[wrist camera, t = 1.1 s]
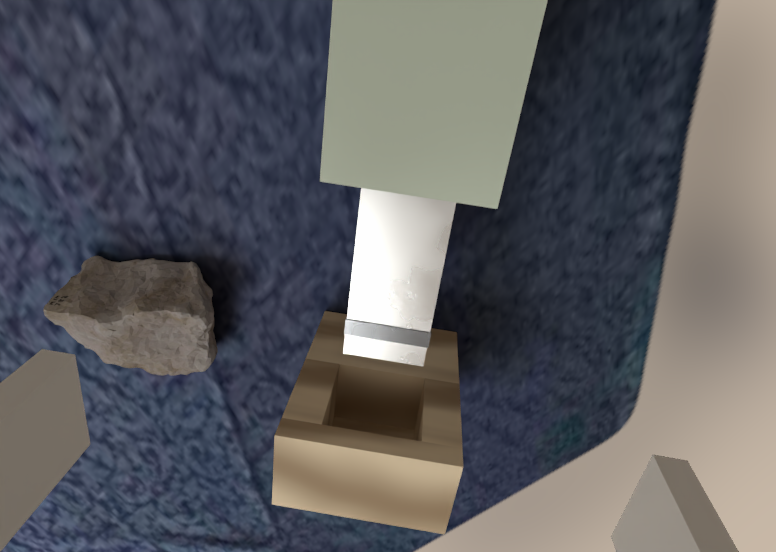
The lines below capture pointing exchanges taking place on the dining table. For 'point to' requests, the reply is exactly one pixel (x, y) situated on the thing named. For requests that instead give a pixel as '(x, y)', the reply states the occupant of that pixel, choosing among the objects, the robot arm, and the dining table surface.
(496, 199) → the sleeve
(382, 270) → the grey-banded white peg
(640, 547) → the robot arm
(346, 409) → the socket block
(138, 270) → the stone
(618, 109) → the dining table surface
